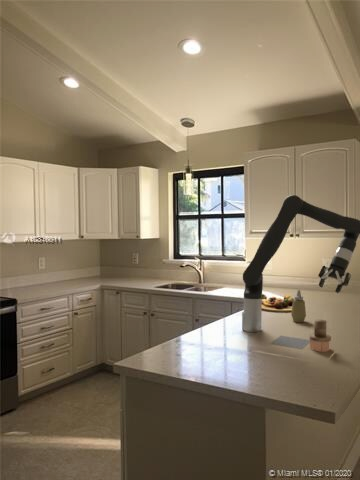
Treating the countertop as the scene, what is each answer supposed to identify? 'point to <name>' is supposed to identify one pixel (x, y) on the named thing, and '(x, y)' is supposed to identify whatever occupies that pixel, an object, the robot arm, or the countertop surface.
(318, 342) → the terracotta bowl
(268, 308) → the wooden plate with food
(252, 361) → the countertop surface
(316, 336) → the walnut lid
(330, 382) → the countertop surface
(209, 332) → the countertop surface
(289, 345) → the rubber mat
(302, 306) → the squeeze bottle
